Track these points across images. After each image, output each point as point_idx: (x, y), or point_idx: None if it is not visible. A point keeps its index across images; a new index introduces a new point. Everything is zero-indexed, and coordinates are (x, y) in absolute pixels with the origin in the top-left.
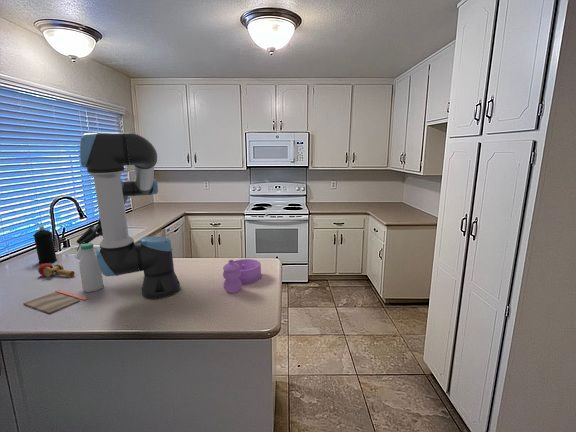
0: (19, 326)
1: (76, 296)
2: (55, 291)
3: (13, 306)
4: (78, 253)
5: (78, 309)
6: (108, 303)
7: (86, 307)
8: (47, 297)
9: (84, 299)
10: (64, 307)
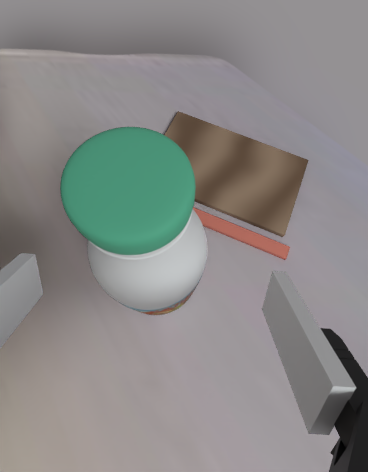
0: (205, 71)
1: None
2: (289, 247)
3: (326, 155)
4: (281, 295)
5: None
6: (36, 165)
7: None
8: (268, 195)
9: None
10: None
